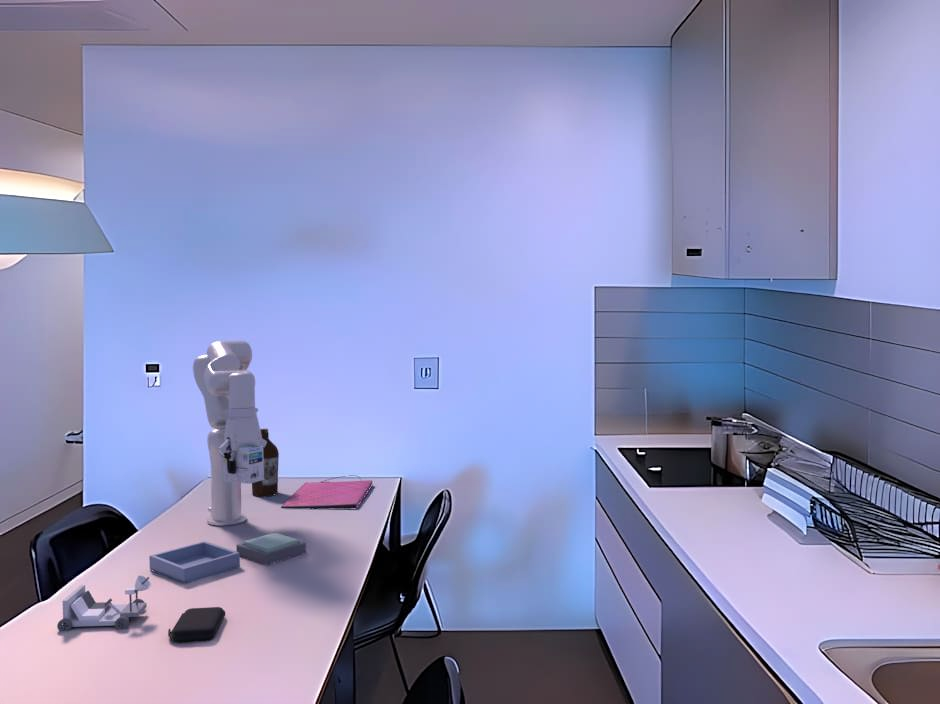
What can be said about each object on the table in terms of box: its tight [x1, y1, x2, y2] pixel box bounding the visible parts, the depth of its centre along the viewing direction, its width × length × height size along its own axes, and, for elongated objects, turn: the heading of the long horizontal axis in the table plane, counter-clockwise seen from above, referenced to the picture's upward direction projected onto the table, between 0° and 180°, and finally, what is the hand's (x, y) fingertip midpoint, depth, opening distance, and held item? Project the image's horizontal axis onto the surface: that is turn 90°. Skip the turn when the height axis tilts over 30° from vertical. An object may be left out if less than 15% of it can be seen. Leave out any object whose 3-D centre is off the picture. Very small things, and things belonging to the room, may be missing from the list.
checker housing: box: [235, 539, 307, 566], centre depth 228 cm, size 14×14×3 cm
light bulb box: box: [223, 445, 264, 485], centre depth 237 cm, size 11×7×11 cm, turn 64°
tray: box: [148, 540, 241, 585], centre depth 215 cm, size 17×17×4 cm
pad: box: [243, 532, 299, 553], centre depth 228 cm, size 11×11×2 cm
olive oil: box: [251, 428, 280, 498], centre depth 299 cm, size 11×11×25 cm
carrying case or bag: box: [167, 606, 226, 644], centre depth 175 cm, size 11×3×15 cm
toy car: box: [56, 575, 152, 632], centre depth 180 cm, size 18×10×12 cm
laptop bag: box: [280, 474, 373, 510], centre depth 297 cm, size 40×4×27 cm
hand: (243, 470), depth 237 cm, fingers closed on light bulb box, 7 cm apart
